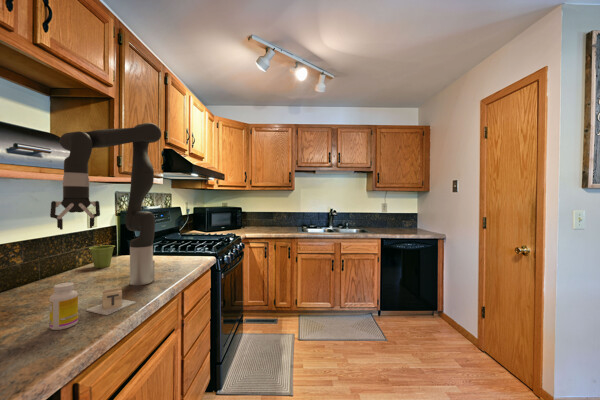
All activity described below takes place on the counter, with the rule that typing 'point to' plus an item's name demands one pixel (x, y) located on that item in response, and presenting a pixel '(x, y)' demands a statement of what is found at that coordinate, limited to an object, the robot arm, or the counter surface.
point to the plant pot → (102, 255)
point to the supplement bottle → (63, 306)
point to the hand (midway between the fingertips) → (76, 228)
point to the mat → (100, 310)
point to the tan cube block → (111, 298)
